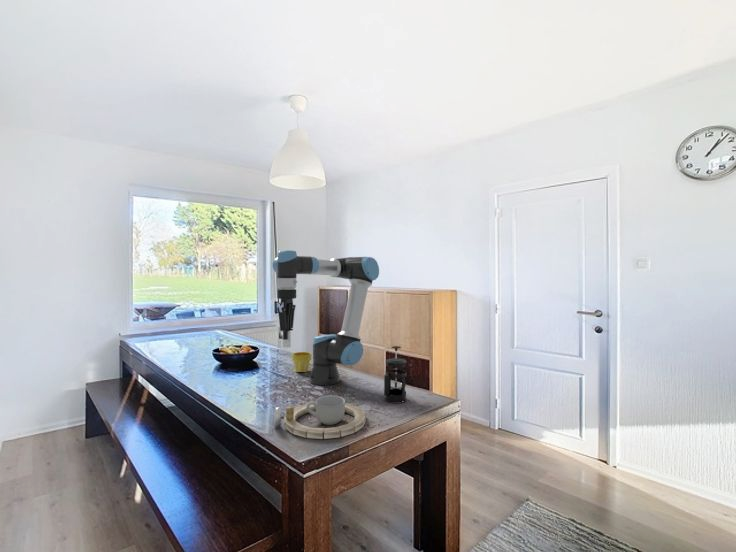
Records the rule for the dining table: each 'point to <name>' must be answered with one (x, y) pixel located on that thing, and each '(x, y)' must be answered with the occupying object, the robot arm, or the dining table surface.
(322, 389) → the dining table surface
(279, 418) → the shiny cylinder
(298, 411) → the ring
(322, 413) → the teacup
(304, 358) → the plant pot
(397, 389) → the french press
